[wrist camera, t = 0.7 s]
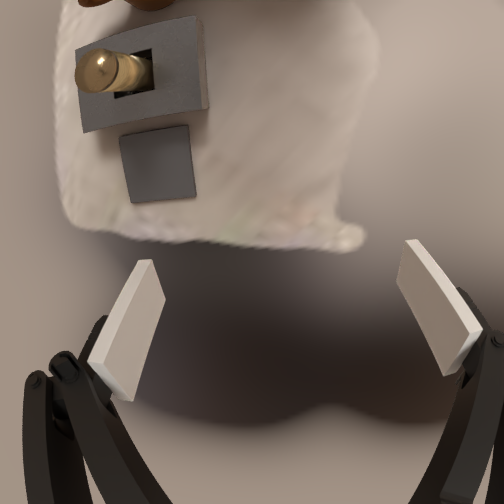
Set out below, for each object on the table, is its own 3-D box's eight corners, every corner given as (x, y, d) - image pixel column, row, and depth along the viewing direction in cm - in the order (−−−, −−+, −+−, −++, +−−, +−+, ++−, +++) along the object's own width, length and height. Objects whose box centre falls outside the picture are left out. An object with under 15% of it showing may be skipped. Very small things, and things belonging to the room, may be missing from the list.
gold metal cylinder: (130, 64, 29) (73, 57, 17) (161, 57, 29) (113, 42, 17) (133, 93, 31) (76, 98, 19) (163, 87, 31) (116, 86, 19)
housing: (94, 52, 27) (75, 49, 23) (203, 24, 27) (195, 15, 22) (101, 127, 33) (83, 133, 29) (209, 107, 33) (202, 109, 29)
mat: (120, 136, 34) (118, 137, 34) (187, 125, 34) (186, 125, 33) (132, 201, 40) (130, 203, 39) (196, 194, 39) (195, 196, 38)
